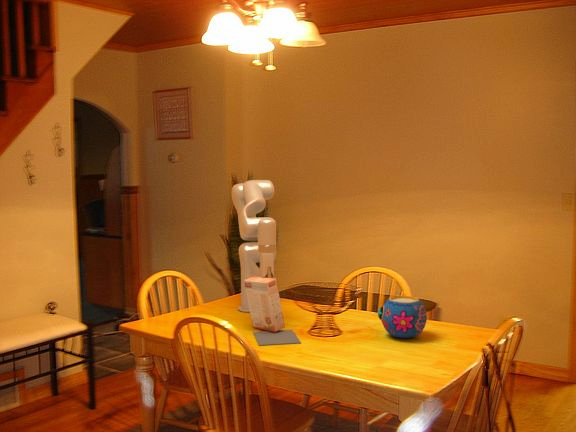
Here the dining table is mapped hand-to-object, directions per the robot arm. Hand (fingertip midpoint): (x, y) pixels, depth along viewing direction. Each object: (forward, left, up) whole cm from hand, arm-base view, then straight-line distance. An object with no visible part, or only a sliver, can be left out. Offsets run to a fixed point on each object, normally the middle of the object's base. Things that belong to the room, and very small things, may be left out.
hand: (267, 293), depth 241 cm
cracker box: (+4, 0, -14) cm, 14 cm away
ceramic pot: (+24, +50, -15) cm, 57 cm away
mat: (+16, +1, -14) cm, 21 cm away
